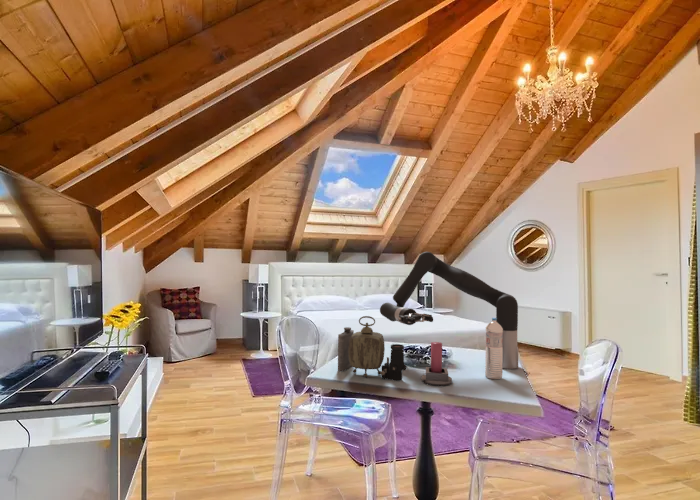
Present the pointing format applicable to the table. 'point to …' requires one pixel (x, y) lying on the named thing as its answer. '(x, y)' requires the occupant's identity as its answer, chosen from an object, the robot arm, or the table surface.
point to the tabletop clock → (366, 349)
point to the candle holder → (437, 378)
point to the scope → (394, 364)
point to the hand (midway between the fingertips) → (423, 320)
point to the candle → (436, 357)
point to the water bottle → (494, 350)
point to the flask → (344, 349)
